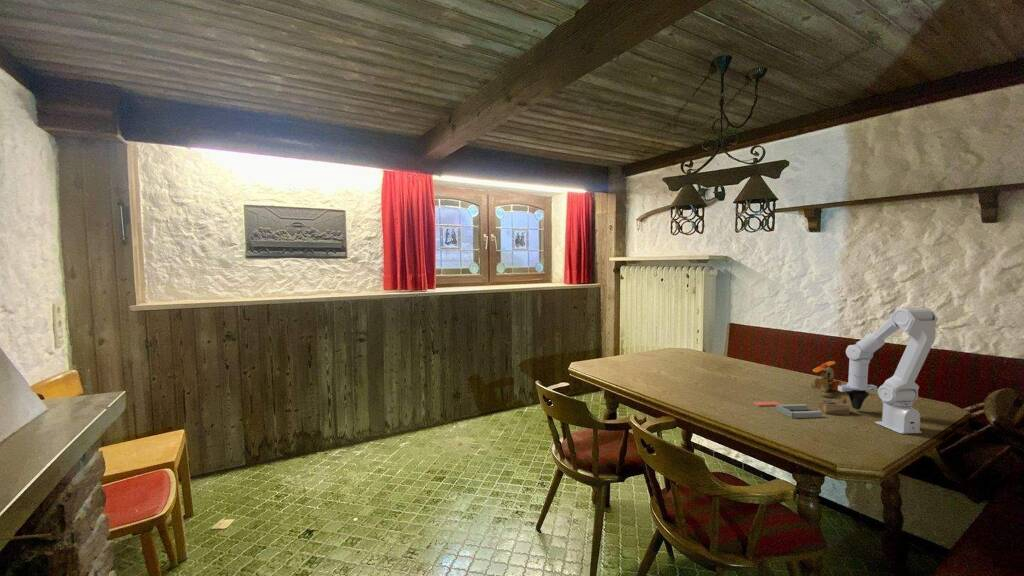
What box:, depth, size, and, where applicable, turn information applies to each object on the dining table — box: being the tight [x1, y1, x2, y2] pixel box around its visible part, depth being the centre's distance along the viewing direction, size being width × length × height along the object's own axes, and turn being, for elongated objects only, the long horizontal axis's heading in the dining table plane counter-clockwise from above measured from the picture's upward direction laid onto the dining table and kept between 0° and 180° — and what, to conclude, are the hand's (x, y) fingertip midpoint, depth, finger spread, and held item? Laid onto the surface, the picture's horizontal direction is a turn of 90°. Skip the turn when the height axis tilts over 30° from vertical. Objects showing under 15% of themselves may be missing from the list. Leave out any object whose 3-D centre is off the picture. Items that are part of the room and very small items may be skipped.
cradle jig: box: [775, 403, 823, 419], centre depth 157 cm, size 8×12×2 cm
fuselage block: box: [817, 398, 850, 415], centre depth 158 cm, size 4×9×6 cm, turn 88°
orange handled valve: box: [809, 360, 842, 393], centre depth 181 cm, size 8×21×14 cm, turn 123°
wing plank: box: [752, 400, 783, 407], centre depth 167 cm, size 10×4×1 cm, turn 91°
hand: (856, 408), depth 159 cm, fingers closed
